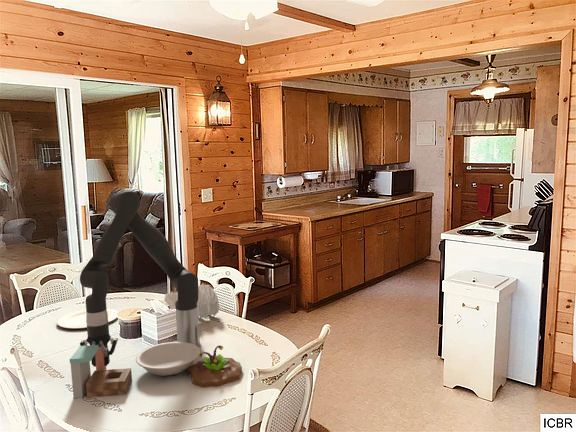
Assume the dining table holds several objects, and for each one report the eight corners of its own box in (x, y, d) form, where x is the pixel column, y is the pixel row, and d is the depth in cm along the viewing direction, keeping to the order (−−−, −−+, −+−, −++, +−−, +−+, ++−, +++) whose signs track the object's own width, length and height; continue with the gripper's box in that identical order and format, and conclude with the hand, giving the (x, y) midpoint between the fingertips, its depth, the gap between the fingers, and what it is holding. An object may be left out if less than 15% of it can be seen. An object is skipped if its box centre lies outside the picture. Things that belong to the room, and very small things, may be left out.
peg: (107, 373, 181) (105, 343, 179) (105, 377, 177) (103, 347, 176) (98, 373, 180) (95, 344, 179) (95, 378, 177) (93, 347, 175)
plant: (248, 381, 173) (247, 352, 171) (195, 392, 166) (193, 361, 164) (234, 359, 191) (233, 333, 190) (185, 368, 184) (184, 341, 183)
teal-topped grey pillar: (101, 382, 173) (98, 344, 172) (92, 397, 163) (89, 357, 161) (83, 383, 173) (80, 346, 171) (73, 399, 162) (69, 359, 160)
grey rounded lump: (219, 323, 242) (178, 335, 224) (200, 302, 252) (159, 312, 234) (229, 295, 235) (187, 305, 217) (209, 274, 245) (168, 282, 227)
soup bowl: (131, 365, 187) (129, 349, 186) (189, 352, 198) (188, 337, 198) (144, 391, 166) (143, 374, 165) (209, 374, 178) (208, 358, 177)
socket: (132, 380, 174) (131, 368, 173) (125, 394, 164) (124, 381, 164) (95, 383, 173) (94, 370, 172) (87, 397, 163) (86, 383, 162)
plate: (98, 307, 260) (98, 304, 259) (131, 317, 243) (130, 314, 242) (45, 324, 236) (45, 320, 236) (77, 336, 219) (77, 332, 219)
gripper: (119, 317, 180) (122, 360, 183) (81, 319, 179) (84, 362, 181) (114, 324, 173) (117, 368, 175) (74, 326, 171) (78, 371, 174)
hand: (100, 365), depth 178 cm, fingers closed on peg, 3 cm apart
